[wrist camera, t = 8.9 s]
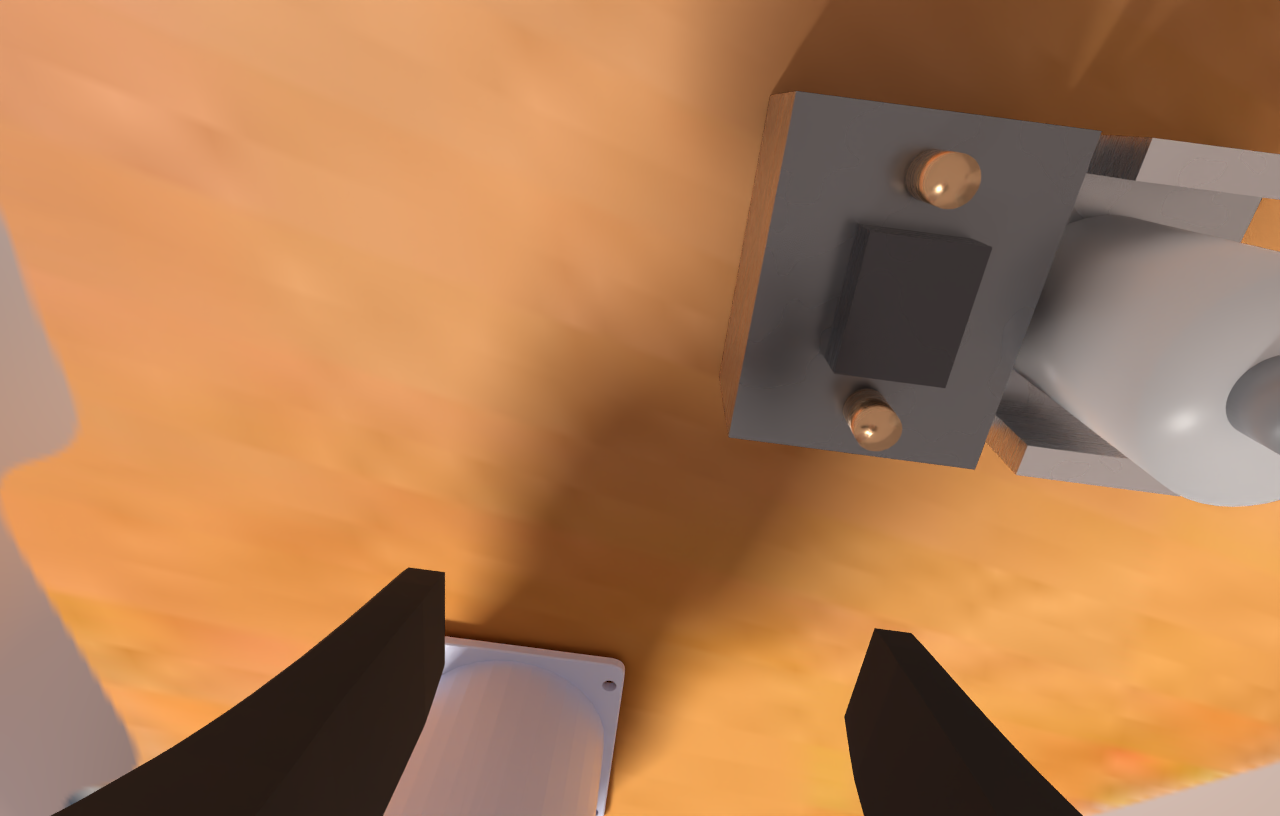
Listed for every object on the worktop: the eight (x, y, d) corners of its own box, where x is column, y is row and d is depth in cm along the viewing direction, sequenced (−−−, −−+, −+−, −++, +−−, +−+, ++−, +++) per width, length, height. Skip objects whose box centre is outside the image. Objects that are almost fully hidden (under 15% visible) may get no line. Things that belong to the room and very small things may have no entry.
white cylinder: (1139, 396, 18) (1387, 550, 12) (971, 378, 18) (1129, 521, 12) (1214, 225, 16) (1558, 298, 10) (1027, 205, 16) (1251, 265, 10)
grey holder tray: (1121, 429, 20) (1261, 530, 15) (719, 376, 20) (732, 461, 15) (1247, 157, 17) (1474, 176, 12) (769, 95, 17) (806, 89, 12)
